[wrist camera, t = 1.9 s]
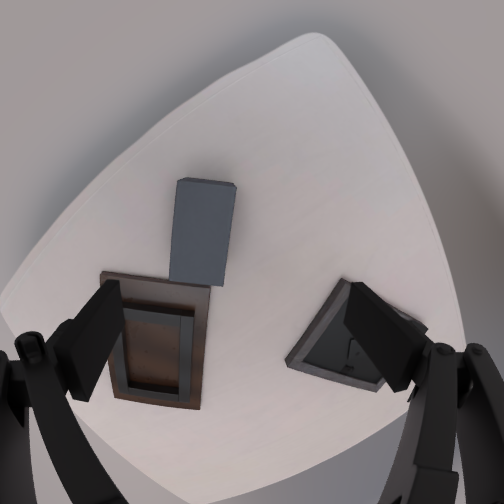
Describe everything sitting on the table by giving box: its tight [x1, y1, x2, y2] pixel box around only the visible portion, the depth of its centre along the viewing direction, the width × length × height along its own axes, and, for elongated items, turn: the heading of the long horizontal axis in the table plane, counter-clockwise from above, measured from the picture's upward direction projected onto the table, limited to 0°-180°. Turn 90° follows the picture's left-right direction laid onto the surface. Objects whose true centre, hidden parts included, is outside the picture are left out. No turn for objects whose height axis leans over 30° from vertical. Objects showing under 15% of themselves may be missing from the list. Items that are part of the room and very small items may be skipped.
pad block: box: [169, 177, 237, 287], centre depth 27 cm, size 9×5×6 cm, turn 171°
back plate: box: [100, 272, 211, 410], centre depth 33 cm, size 20×13×2 cm, turn 171°
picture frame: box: [285, 278, 428, 393], centre depth 37 cm, size 13×2×18 cm
